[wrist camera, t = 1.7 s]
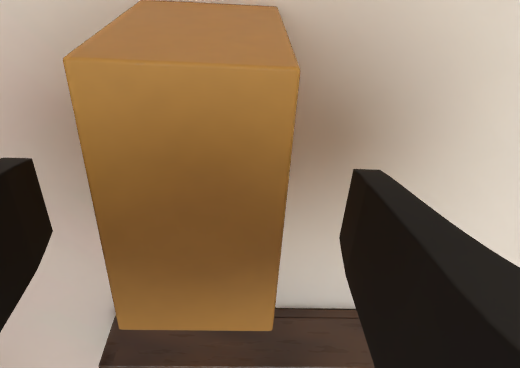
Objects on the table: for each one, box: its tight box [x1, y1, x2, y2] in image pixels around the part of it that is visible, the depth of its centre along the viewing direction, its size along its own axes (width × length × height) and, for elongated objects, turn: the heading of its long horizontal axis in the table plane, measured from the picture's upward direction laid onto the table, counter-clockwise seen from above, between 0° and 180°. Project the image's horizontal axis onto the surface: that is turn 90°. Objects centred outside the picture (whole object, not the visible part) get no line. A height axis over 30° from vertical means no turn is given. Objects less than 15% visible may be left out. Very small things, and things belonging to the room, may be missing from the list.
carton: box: [63, 0, 300, 331], centre depth 11 cm, size 4×7×6 cm, turn 177°
